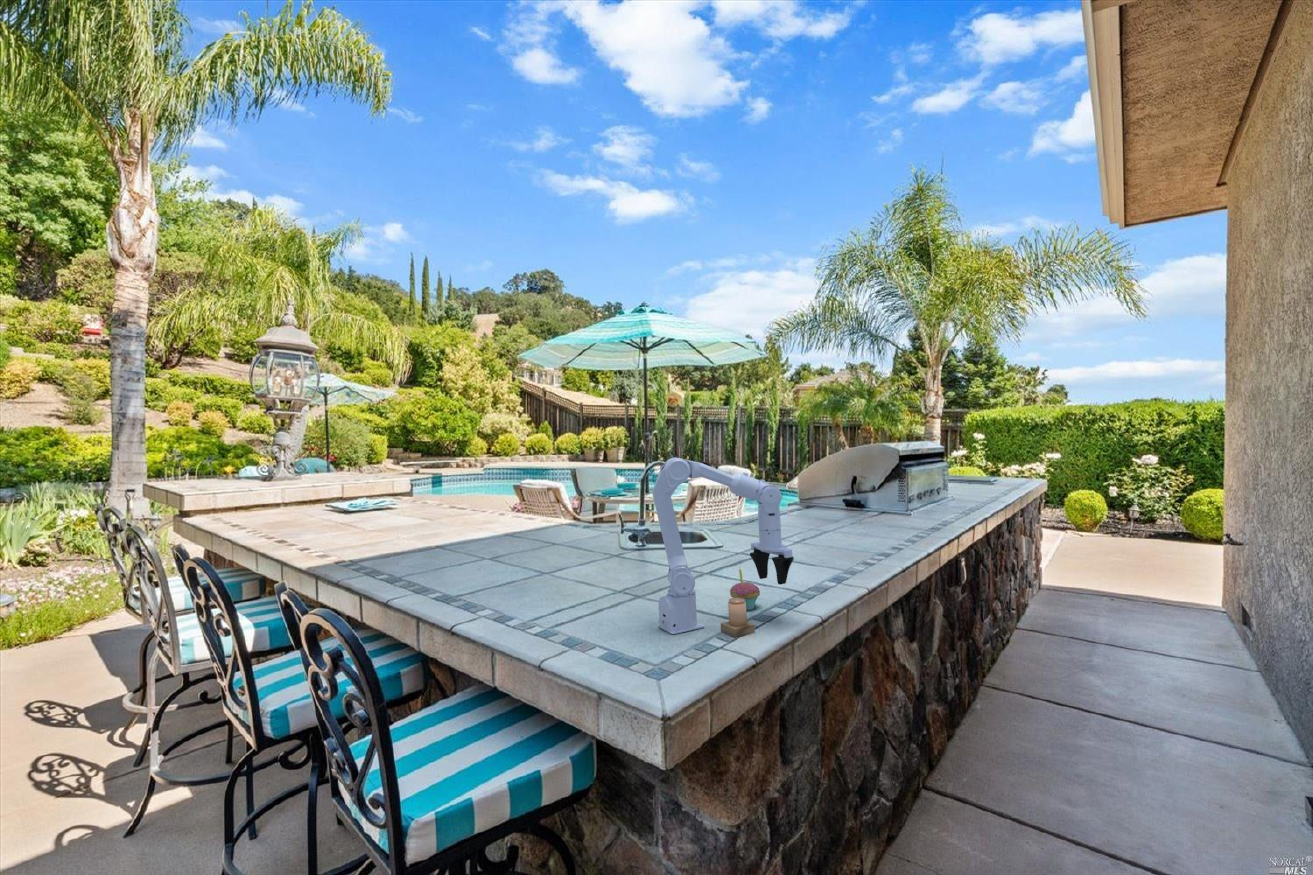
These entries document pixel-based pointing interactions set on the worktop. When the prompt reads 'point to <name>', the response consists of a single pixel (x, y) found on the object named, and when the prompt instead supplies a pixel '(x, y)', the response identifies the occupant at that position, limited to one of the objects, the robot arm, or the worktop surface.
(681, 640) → the worktop surface
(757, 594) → the cupcake
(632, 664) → the worktop surface
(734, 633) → the base
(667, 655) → the worktop surface
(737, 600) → the jar
